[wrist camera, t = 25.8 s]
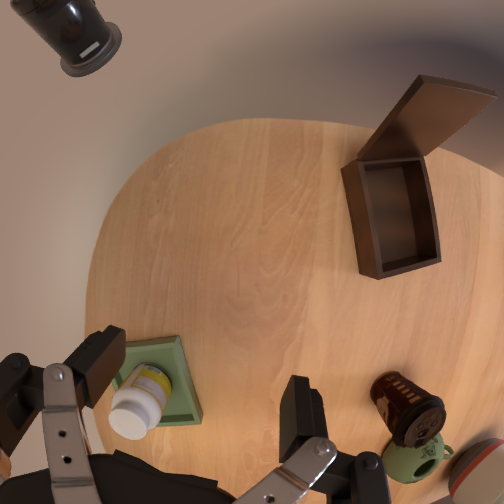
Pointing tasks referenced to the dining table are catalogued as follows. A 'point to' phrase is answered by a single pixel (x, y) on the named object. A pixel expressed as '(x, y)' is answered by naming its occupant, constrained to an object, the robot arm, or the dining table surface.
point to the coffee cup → (407, 410)
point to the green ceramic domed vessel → (415, 460)
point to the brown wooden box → (391, 215)
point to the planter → (479, 474)
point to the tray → (173, 362)
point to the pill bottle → (140, 401)
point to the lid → (426, 117)
